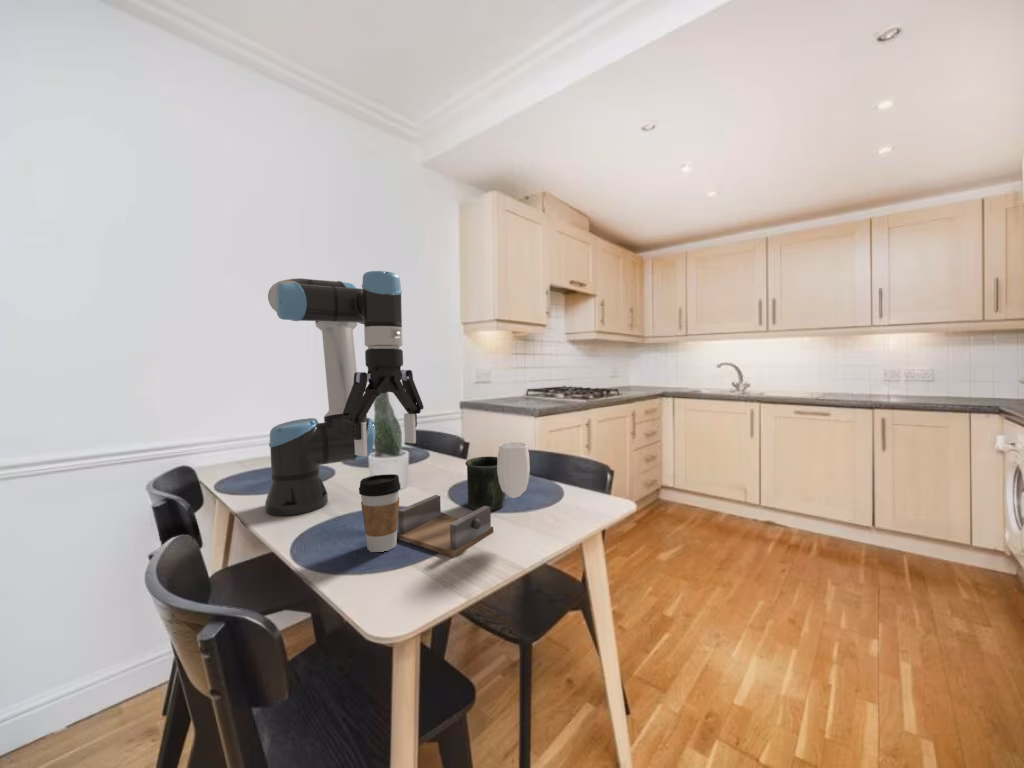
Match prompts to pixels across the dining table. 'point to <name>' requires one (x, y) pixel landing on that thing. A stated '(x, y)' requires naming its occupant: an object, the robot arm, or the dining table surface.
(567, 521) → the dining table surface
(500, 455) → the cup
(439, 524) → the holder
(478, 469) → the mug
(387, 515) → the coffee cup
